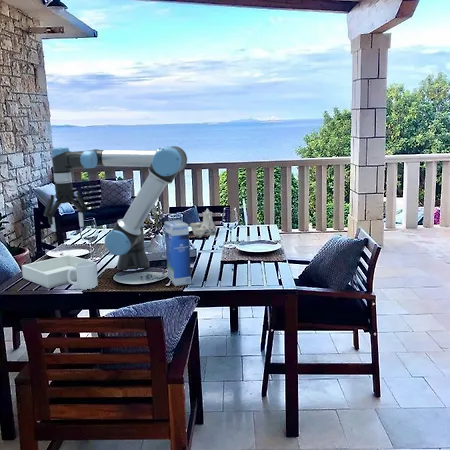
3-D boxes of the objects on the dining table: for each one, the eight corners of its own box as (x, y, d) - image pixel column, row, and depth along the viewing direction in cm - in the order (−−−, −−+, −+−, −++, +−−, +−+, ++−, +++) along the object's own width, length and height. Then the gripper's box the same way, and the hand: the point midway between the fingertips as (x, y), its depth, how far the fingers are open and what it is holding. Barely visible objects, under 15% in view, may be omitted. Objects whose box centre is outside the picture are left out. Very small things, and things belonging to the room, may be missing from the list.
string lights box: (191, 284, 209) (189, 224, 204) (174, 286, 206) (171, 226, 201) (183, 275, 221) (180, 219, 216) (166, 278, 219) (163, 221, 214)
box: (97, 275, 227) (96, 262, 226) (48, 288, 210) (47, 274, 208) (70, 266, 243) (69, 254, 242) (23, 278, 226) (21, 265, 225)
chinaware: (187, 233, 320) (183, 208, 317) (212, 228, 324) (208, 203, 320) (195, 242, 294) (191, 215, 290) (222, 237, 297) (218, 210, 293)
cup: (98, 288, 207) (96, 265, 205) (68, 292, 204) (65, 268, 202) (97, 283, 215) (95, 260, 213) (69, 286, 212) (66, 263, 210)
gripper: (84, 179, 231) (89, 223, 235) (32, 184, 214) (37, 232, 218) (92, 179, 226) (96, 225, 230) (39, 185, 209) (44, 234, 213)
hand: (68, 229), depth 224 cm, fingers open, 13 cm apart
